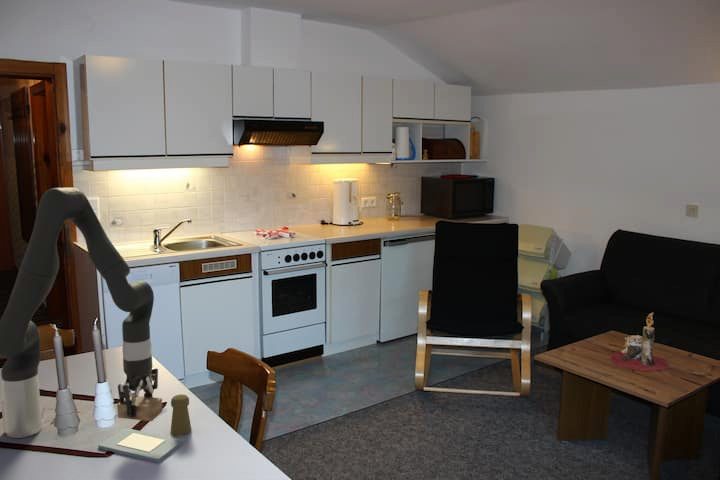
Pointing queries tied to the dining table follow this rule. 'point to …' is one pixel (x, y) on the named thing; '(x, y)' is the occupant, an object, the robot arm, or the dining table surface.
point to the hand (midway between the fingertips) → (140, 411)
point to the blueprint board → (141, 444)
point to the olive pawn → (180, 416)
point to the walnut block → (142, 408)
